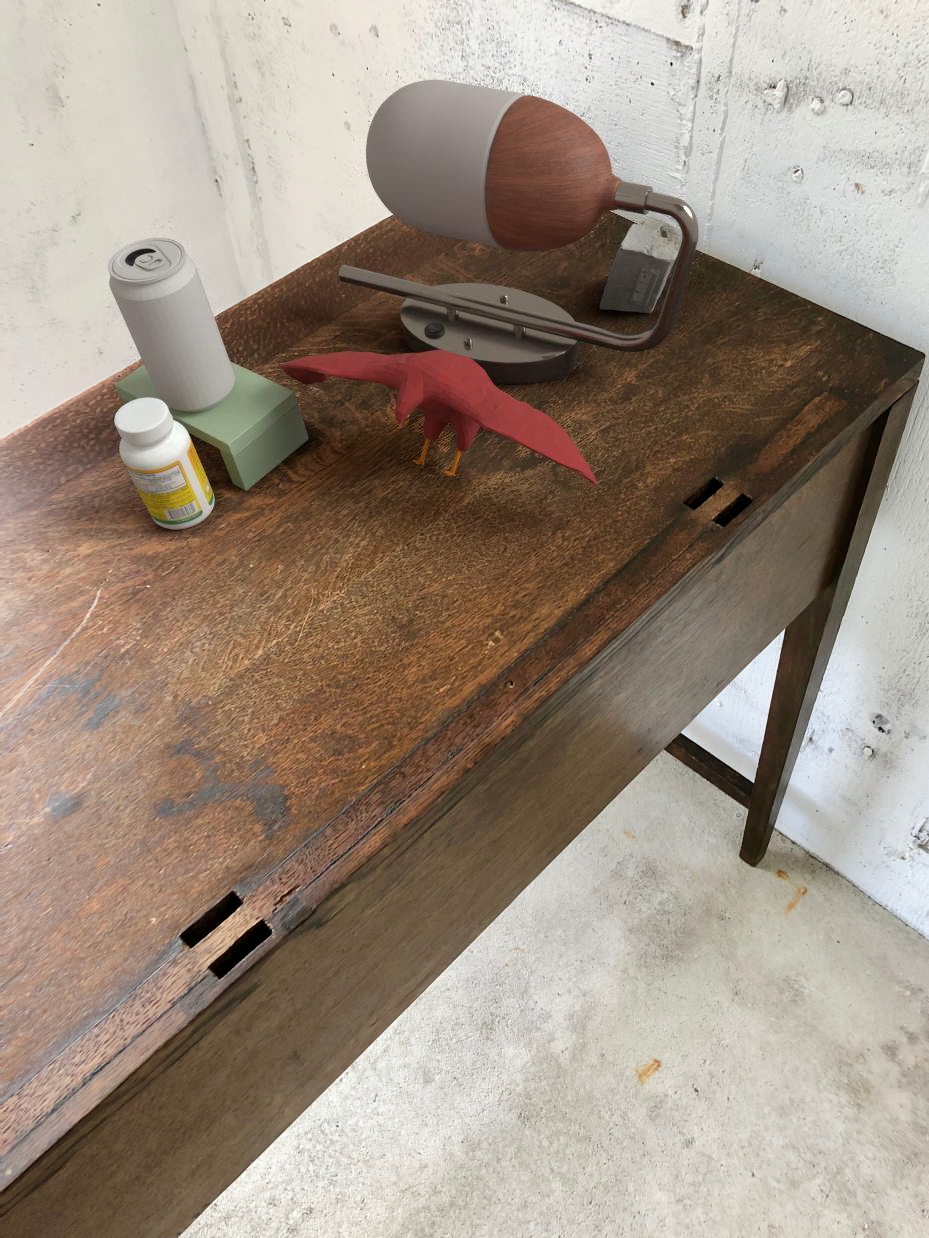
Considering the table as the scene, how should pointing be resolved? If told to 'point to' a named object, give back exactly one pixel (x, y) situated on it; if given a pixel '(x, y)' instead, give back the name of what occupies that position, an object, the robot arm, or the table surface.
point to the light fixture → (503, 220)
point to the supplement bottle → (163, 464)
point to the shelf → (238, 422)
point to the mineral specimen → (641, 266)
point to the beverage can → (171, 323)
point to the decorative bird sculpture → (448, 400)
